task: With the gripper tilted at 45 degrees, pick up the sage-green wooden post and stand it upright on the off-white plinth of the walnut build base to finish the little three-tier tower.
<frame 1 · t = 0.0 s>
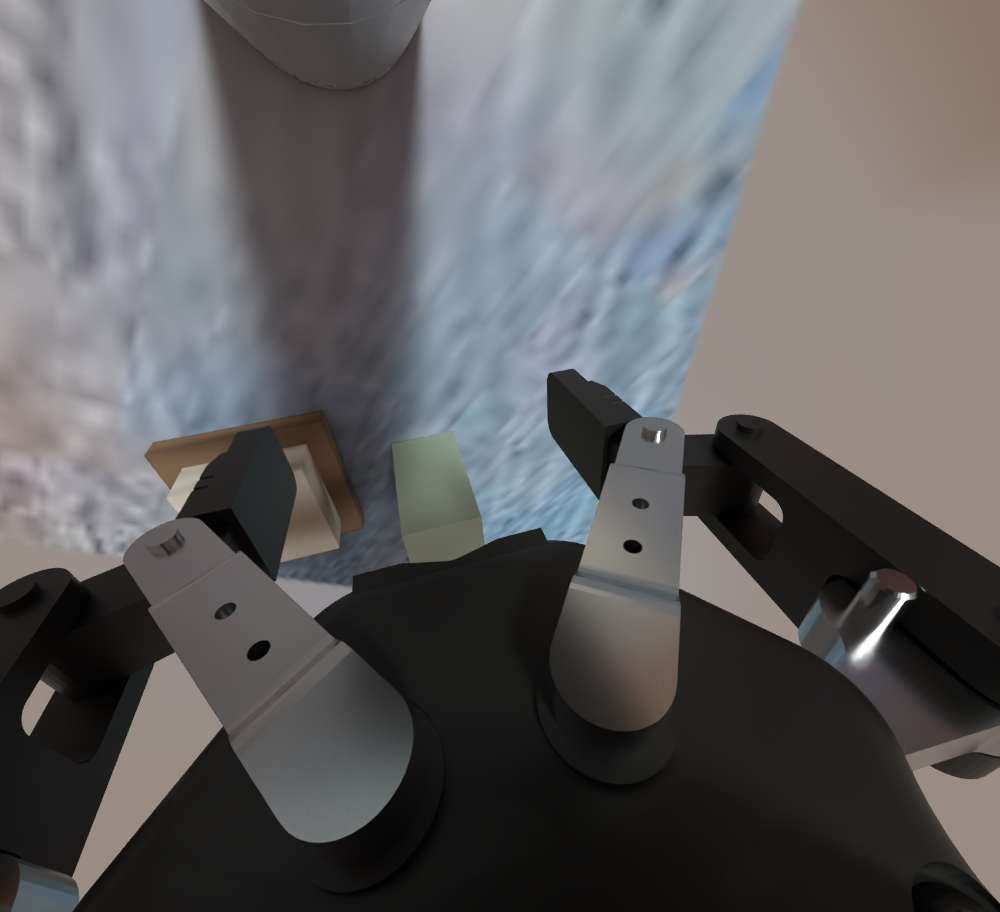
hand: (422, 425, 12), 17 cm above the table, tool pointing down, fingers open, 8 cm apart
build base: (273, 484, 32), on the table
green post: (427, 461, 34), on the table
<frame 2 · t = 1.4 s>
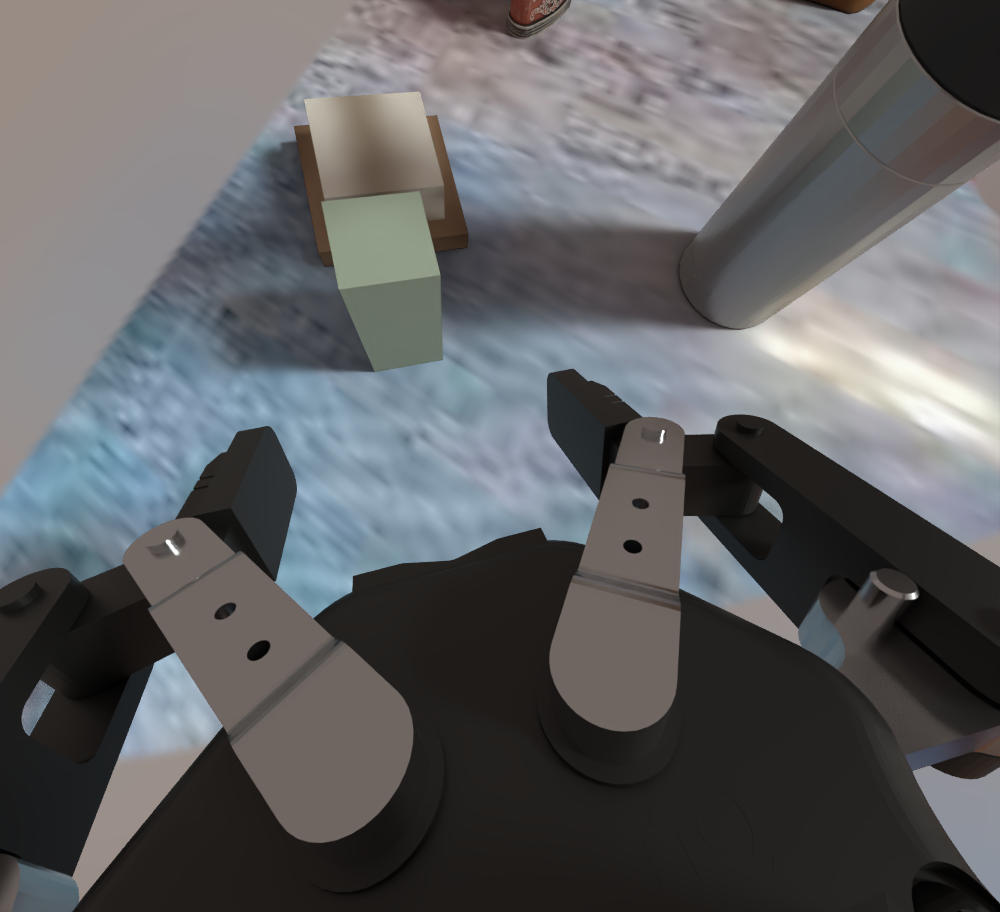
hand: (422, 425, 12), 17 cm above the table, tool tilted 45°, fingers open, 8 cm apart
build base: (384, 196, 32), on the table
lighter: (538, 16, 39), on the table
green post: (402, 335, 30), on the table
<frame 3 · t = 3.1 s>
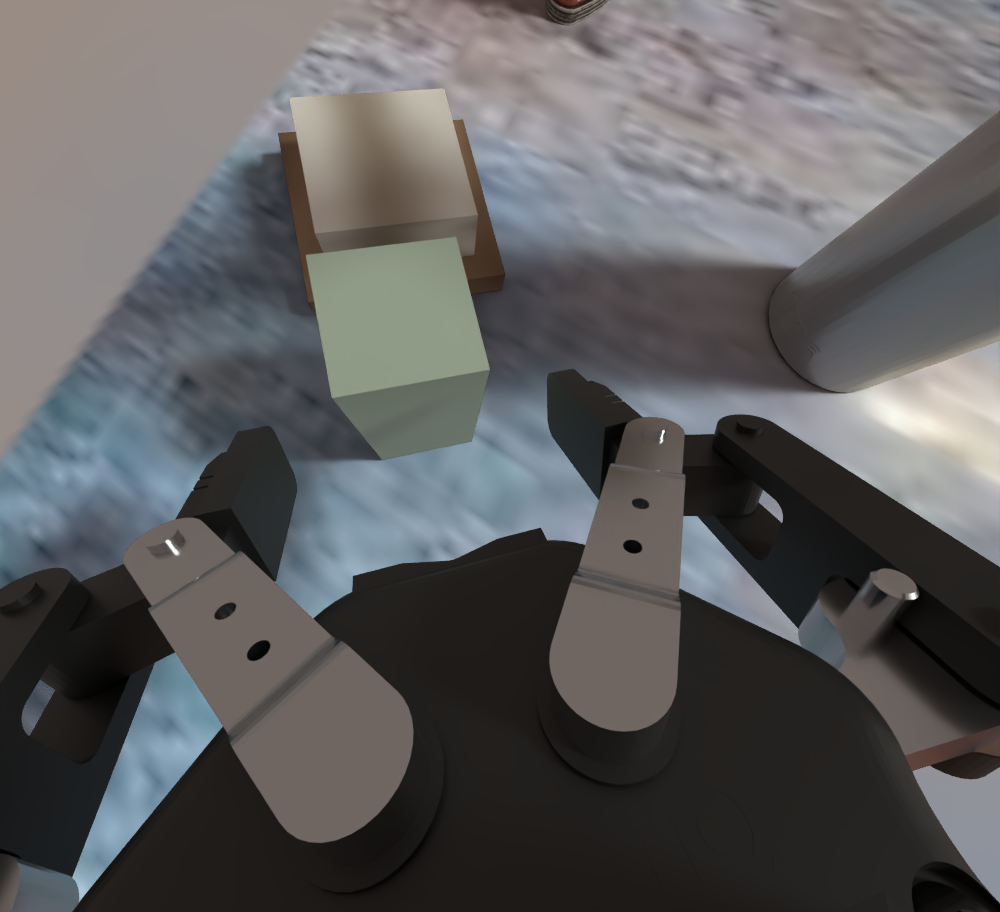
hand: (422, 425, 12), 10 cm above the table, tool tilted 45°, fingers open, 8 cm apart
build base: (394, 223, 25), on the table
green post: (418, 408, 23), on the table
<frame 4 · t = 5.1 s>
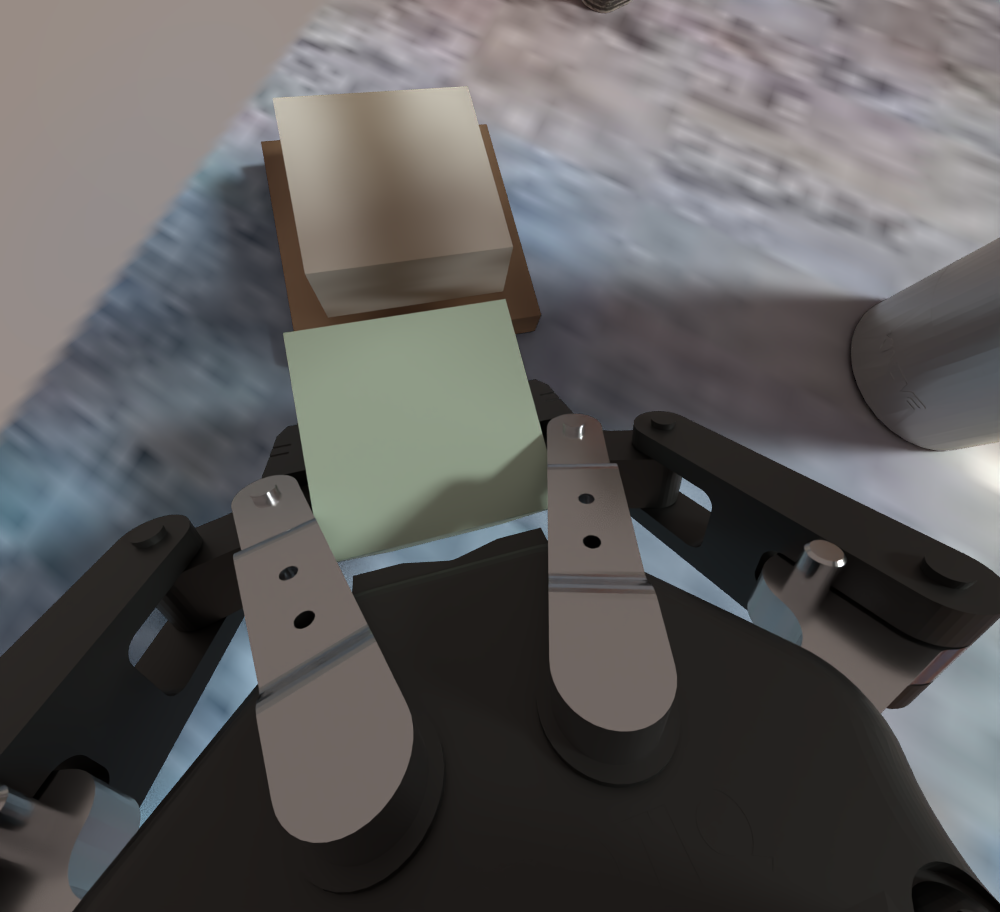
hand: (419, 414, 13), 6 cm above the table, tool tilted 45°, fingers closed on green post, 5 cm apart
build base: (404, 250, 21), on the table
green post: (435, 483, 18), on the table, touching gripper
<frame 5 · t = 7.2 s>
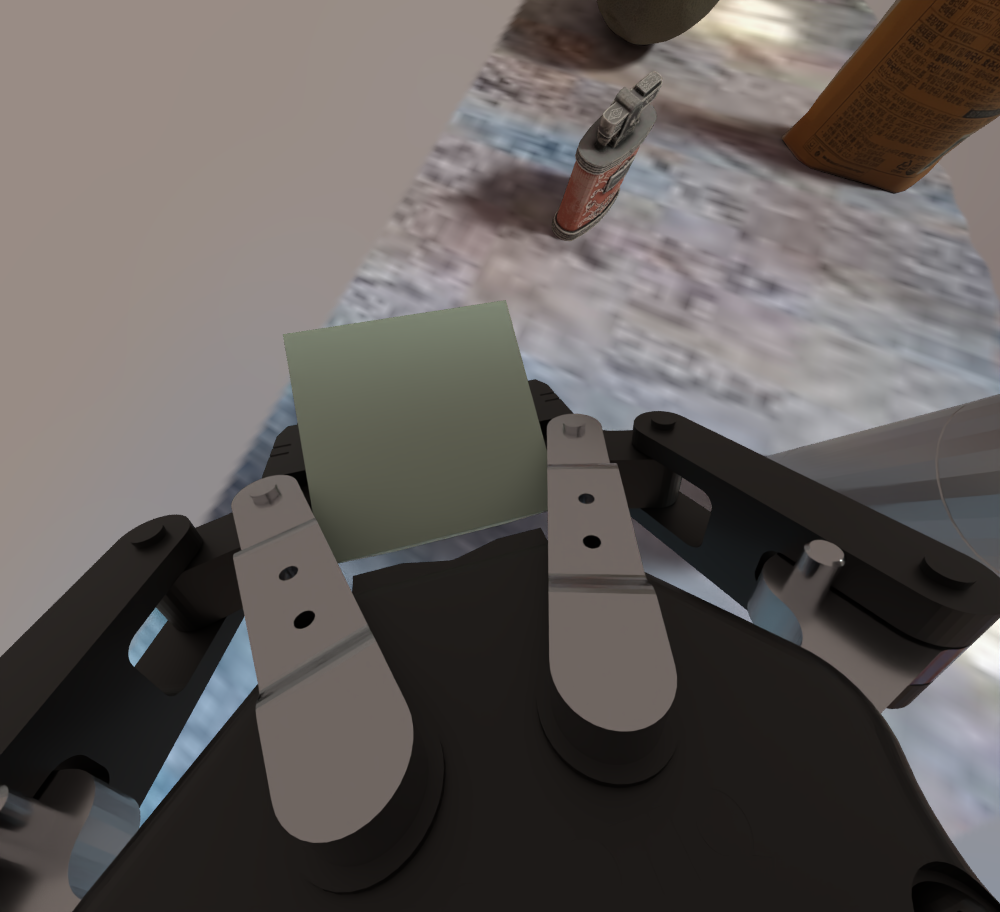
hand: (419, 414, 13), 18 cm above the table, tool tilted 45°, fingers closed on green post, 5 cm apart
pancake mix bag: (848, 170, 43), on the table
lighter: (583, 212, 37), on the table
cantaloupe: (630, 40, 43), on the table
green post: (435, 483, 18), point 12 cm above the table, touching gripper
when the fingers open (12 cm above the table, at t = 9.2 s): green post drops 1 cm, resting on build base.
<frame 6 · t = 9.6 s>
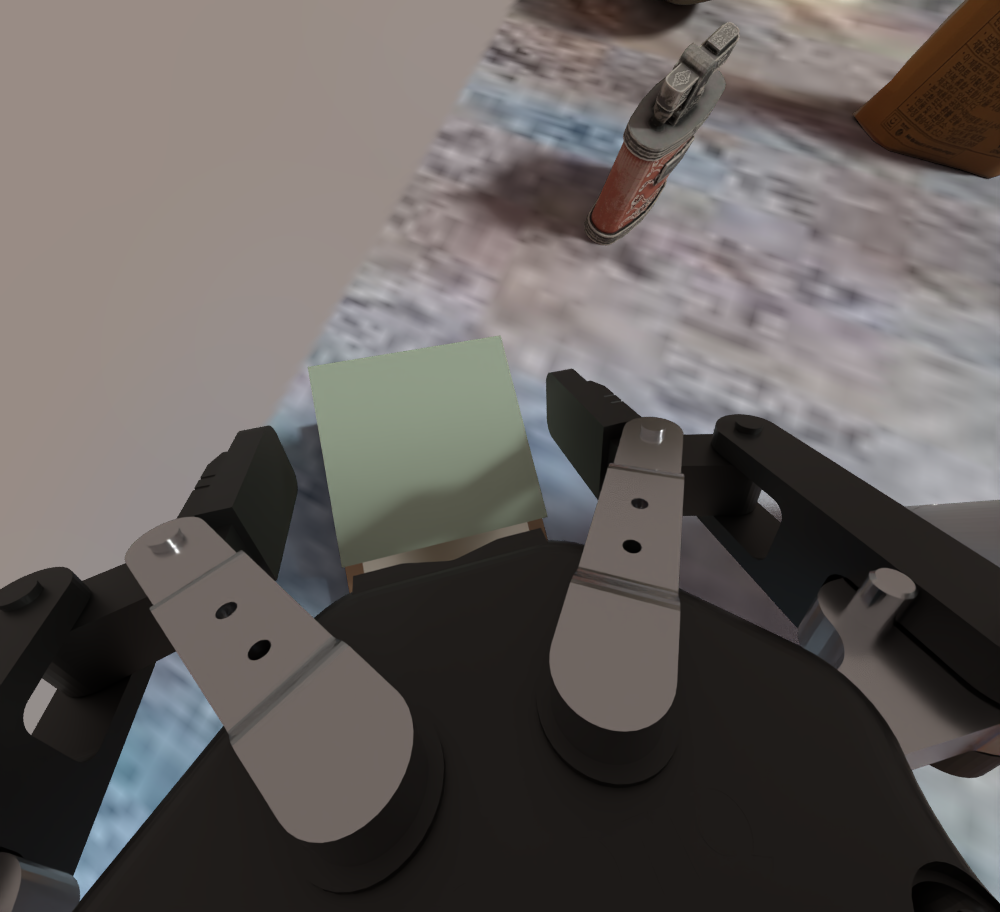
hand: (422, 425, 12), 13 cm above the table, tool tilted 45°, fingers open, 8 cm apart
pancake mix bag: (932, 152, 36), on the table
build base: (437, 497, 24), on the table
lighter: (622, 209, 31), on the table
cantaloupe: (669, 1, 36), on the table
green post: (437, 489, 20), point 4 cm above the table, touching build base
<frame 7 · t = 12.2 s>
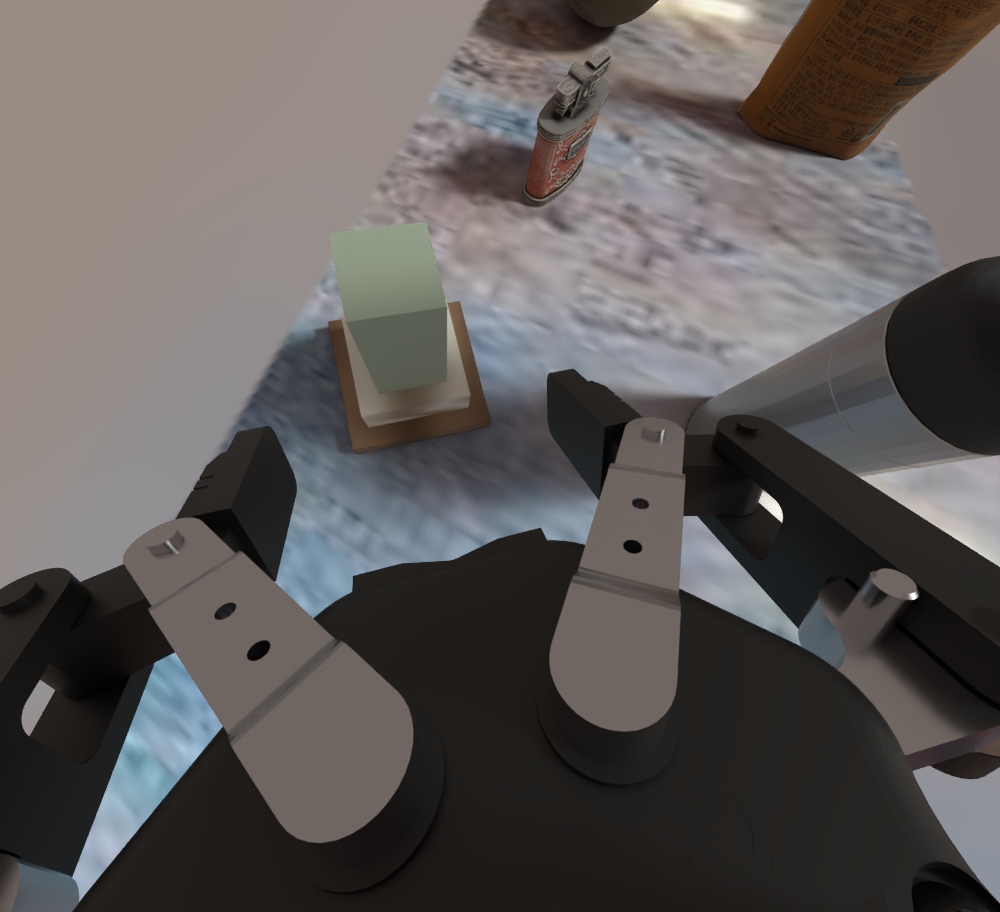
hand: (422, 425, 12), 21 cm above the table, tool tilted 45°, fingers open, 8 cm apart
pancake mix bag: (800, 139, 47), on the table
build base: (410, 378, 35), on the table
lighter: (551, 181, 41), on the table
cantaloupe: (595, 23, 46), on the table
green post: (406, 356, 30), point 4 cm above the table, touching build base
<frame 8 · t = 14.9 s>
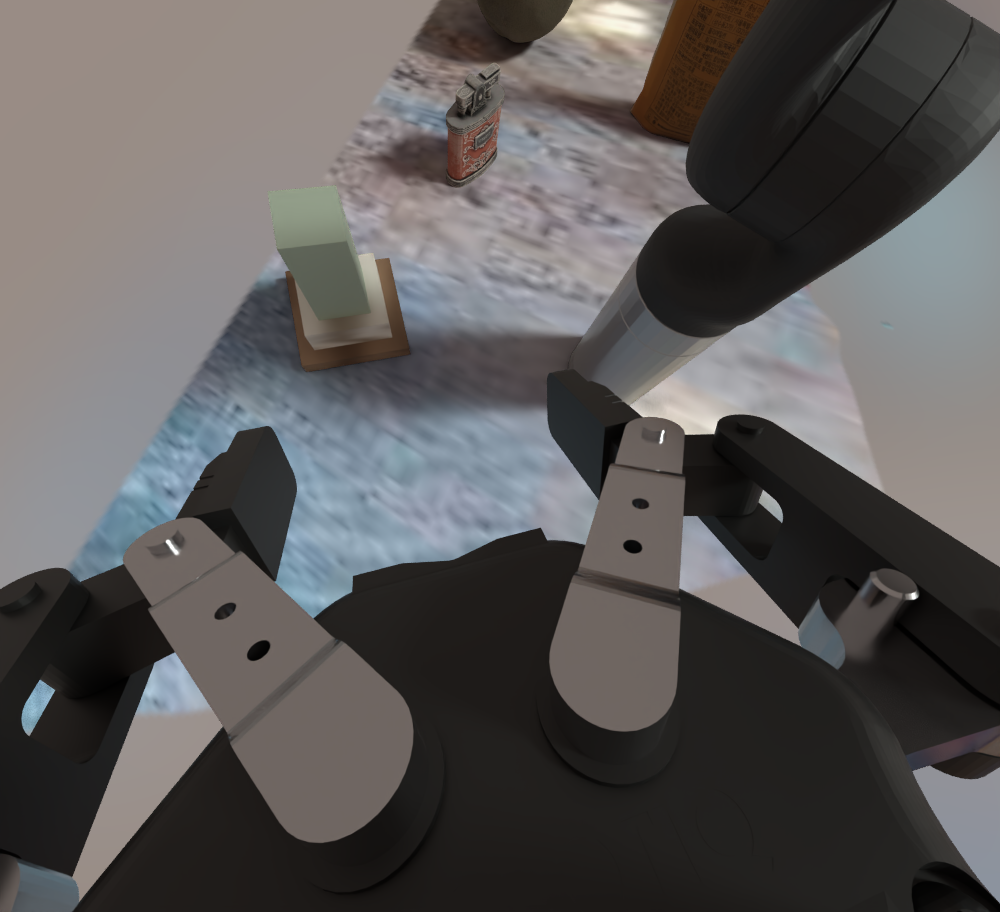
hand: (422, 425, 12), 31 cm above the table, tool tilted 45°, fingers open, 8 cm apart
pancake mix bag: (684, 135, 57), on the table
build base: (350, 317, 45), on the table
lighter: (471, 167, 51), on the table
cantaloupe: (515, 39, 56), on the table
green post: (340, 294, 40), point 4 cm above the table, touching build base
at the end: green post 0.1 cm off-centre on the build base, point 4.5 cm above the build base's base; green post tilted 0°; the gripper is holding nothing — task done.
